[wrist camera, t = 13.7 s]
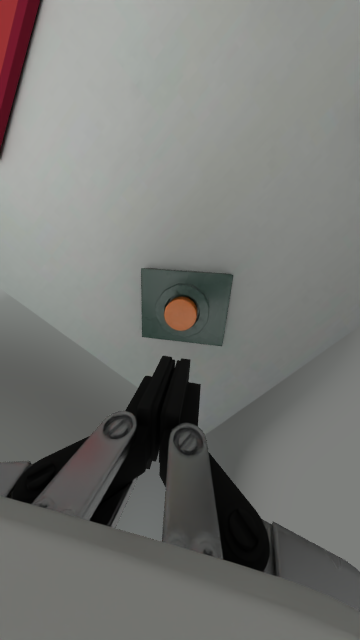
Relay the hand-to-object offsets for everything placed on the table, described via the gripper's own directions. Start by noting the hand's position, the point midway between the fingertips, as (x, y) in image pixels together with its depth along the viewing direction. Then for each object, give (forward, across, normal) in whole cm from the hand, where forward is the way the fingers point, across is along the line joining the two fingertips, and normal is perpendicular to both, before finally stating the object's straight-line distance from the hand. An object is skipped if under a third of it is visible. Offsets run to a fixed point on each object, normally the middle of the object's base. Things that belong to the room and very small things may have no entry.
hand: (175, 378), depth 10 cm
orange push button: (+13, +2, 0) cm, 13 cm away
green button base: (+16, +2, 0) cm, 16 cm away
